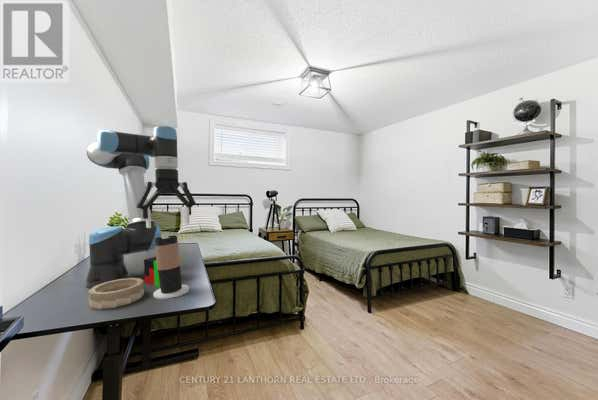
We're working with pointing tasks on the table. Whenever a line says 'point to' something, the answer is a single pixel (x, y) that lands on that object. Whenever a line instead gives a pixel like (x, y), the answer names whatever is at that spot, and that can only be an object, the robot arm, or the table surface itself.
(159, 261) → the travel mug
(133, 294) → the holder ring
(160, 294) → the white round disc
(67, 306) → the table surface
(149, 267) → the puzzle toy
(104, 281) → the robot arm
